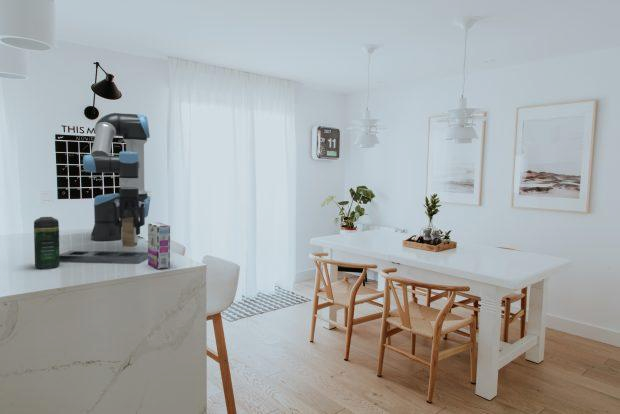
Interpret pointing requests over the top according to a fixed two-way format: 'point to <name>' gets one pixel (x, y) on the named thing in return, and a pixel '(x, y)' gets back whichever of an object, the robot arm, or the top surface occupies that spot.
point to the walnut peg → (128, 232)
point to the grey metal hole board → (103, 257)
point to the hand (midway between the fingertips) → (129, 241)
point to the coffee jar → (46, 242)
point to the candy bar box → (159, 245)
